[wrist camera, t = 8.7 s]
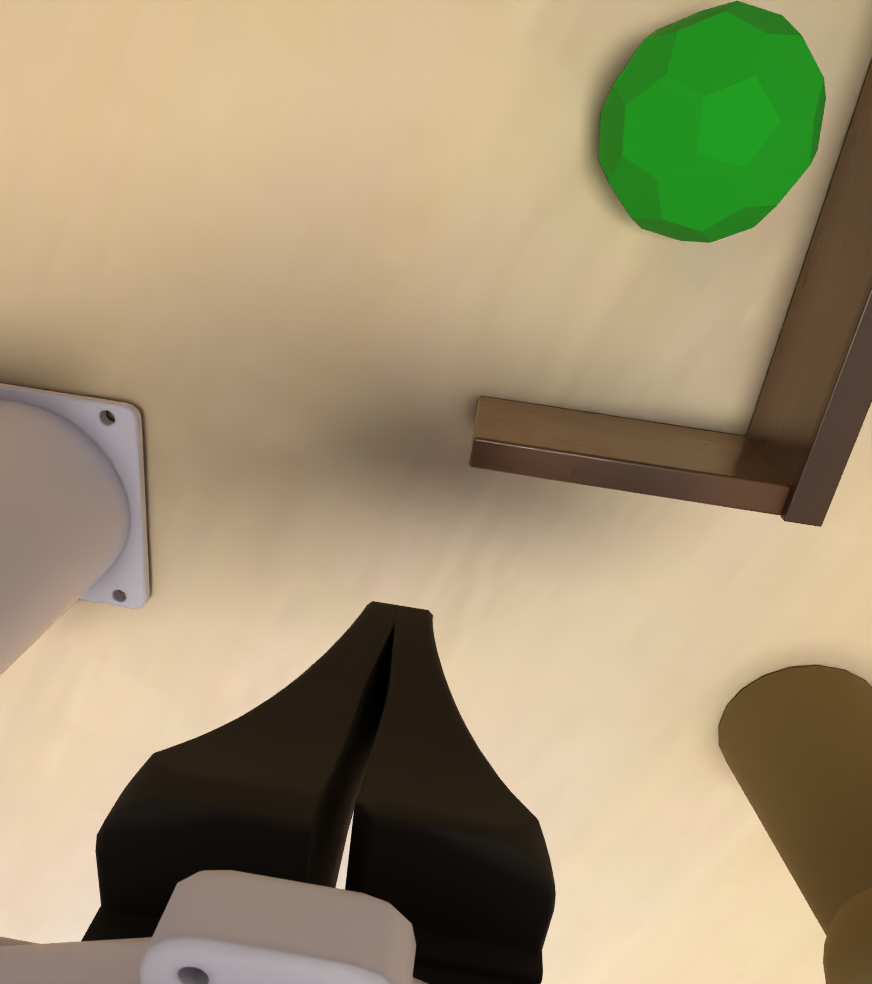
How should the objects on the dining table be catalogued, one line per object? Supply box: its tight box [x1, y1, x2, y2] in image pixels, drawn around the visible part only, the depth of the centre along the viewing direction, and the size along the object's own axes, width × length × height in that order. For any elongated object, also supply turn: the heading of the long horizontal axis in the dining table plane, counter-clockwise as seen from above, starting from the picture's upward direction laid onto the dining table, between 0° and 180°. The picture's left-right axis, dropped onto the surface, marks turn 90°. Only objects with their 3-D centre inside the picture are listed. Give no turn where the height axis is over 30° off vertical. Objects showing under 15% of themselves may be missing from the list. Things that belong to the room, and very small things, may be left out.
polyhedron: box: [598, 1, 826, 243], centre depth 17 cm, size 5×5×5 cm
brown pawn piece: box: [719, 666, 872, 984], centre depth 22 cm, size 6×6×11 cm
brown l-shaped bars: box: [469, 62, 872, 526], centre depth 17 cm, size 10×18×4 cm, turn 173°
